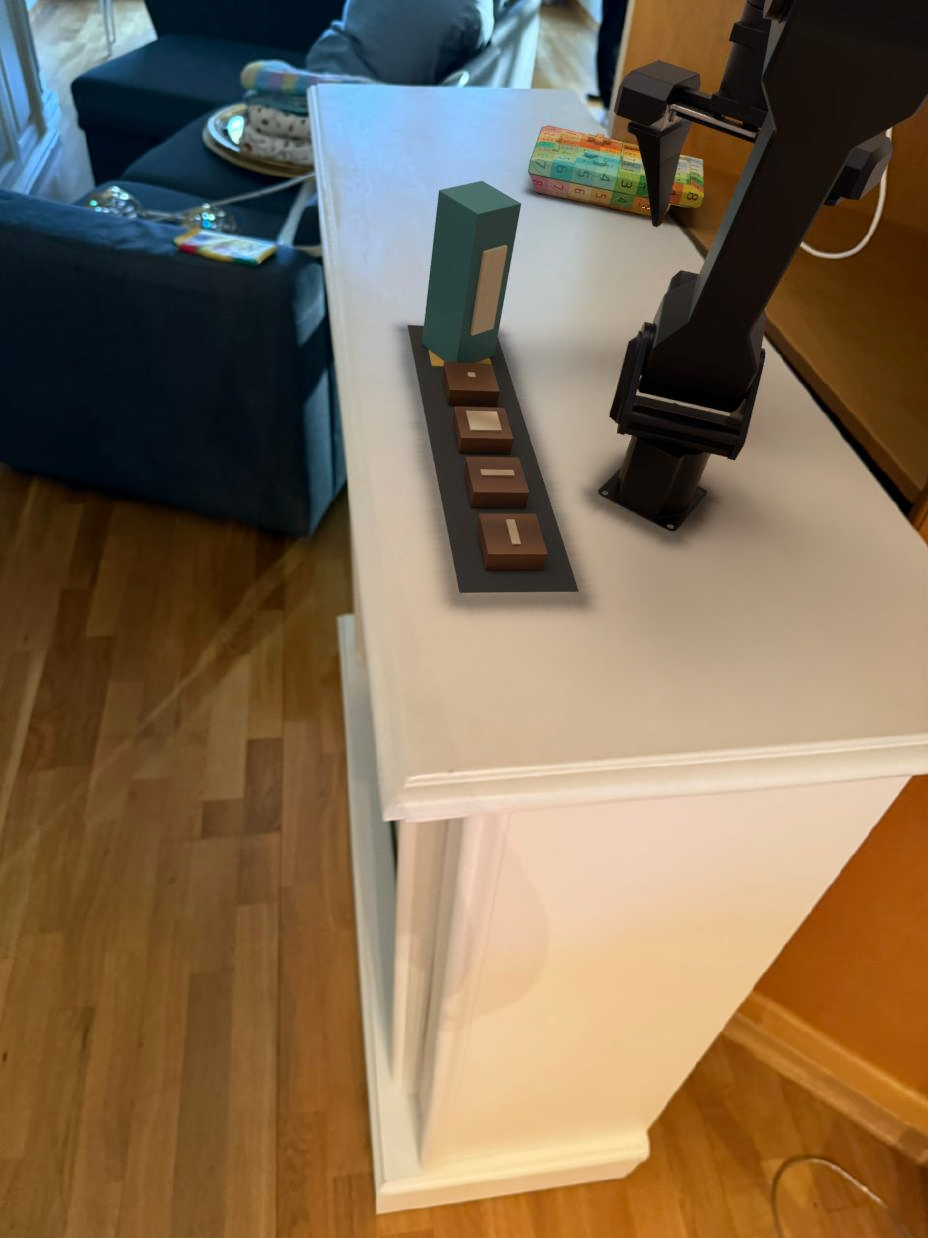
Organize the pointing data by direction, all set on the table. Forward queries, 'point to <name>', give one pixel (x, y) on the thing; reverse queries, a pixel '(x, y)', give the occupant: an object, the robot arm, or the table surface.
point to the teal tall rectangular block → (469, 271)
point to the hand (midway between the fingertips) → (709, 246)
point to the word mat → (454, 488)
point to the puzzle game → (605, 172)
